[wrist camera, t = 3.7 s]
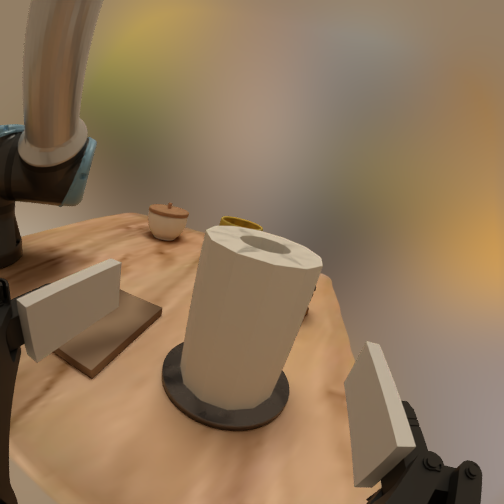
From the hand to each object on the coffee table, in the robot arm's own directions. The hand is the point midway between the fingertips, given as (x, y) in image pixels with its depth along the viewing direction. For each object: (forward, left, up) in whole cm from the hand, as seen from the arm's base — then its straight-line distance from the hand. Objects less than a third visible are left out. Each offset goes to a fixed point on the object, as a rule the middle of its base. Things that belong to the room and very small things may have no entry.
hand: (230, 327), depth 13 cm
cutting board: (-20, +12, -14) cm, 27 cm away
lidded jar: (-30, +54, -15) cm, 63 cm away
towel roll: (0, +12, -13) cm, 18 cm away
